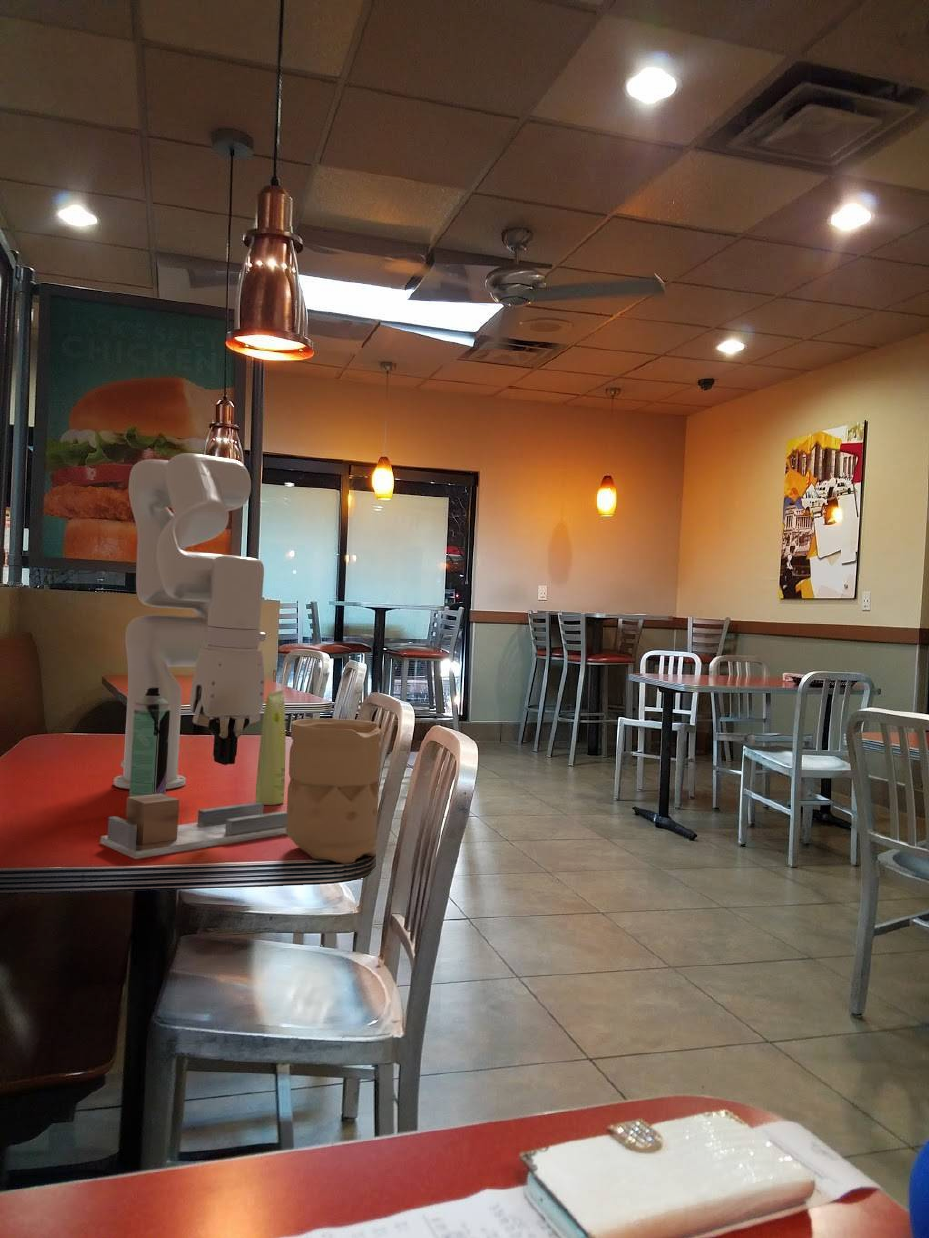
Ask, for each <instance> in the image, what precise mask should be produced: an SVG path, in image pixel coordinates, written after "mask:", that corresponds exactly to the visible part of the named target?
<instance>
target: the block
mask: <svg viewBox="0 0 929 1238" xmlns="http://www.w3.org/2000/svg"><path fill="white" fill-rule="evenodd" d="M179 809H180V799H179V798H176V797H173V796H171V795H167V794H165V795H164V794H161V793H160V794H151V795H143V796H134V797H129V796H128V797H126V812H125V813H126V814H125V820H127V821H129V822H132V823H134V824H137V833H136V842H138V843H140V844H142V845H144V844H150V843H157V842H163V841H170V840H176V839H177V830H178V825H179V812H180V811H179Z"/></svg>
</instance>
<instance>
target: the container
mask: <svg viewBox="0 0 929 1238" xmlns="http://www.w3.org/2000/svg"><path fill="white" fill-rule="evenodd" d="M382 736H383V735H382V729H381V728H380V725H379V723H378V722H376V721H375V722H374V721H370V720H359V719H347V718H331V717H329V718H326V717H325V718H303V719H302V718H301V719H296V720H293V721H291V722H290V738H291V739H292V740H291V741H292V742H291V745H290V747H289V759H288V760H289V763H288V775H289V778H290V780H289V783H288V786H287V797H286V798H287V801H286V811H287V819H286V833H287V834H286V835H287V836H288V838H290V840H291V841H292V842H293V843H294V844H295V845H296V846H297V847H298V848H300V849H301V850H302V851H304V852H305V853H306V854H308V856H310V857H311V858H312V859H314V860H327V861H332V862H334V863H339V864H343V865H349V864H351V863H352V864H353V863H355V861H357V859H359V858H361V857H362V856H369V857H375V854H376V851H377V842H376V839H375V838H376V836H377V831H378V830H377V829H378V828H377V827H378V815H379V814H378V811H379V809H378V808H379V791H380V790H379V789H380V775H381V773H380V772H381V758H382V757H381V753H382V748H381V745H380V743H381V742H382Z"/></svg>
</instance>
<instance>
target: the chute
mask: <svg viewBox="0 0 929 1238" xmlns="http://www.w3.org/2000/svg"><path fill="white" fill-rule="evenodd" d="M264 807H265V806H264V804H263V803H260V802H248V803H241V804H235V805H234V804H233V805H225V806H218V807H210V808H203V809H201V808H200V809H198V810H197V811H198V812H197V821H196V822H191V823H184V824H178V830H177V839H176V840H170V841H163V842H157V843H150V844H144V845H142V844H140V843H138V842H136V833H137V824H134V823H132V822H129V821H127V820H126V819H124V818H121V817H119V816H113V815H112V816H109V817H108V823H107V824H108V825H107V834H106V835H101V836H100V845H103V846H106V847H107V848H109V849H112V850H114V851H116V852H119V853H120V854H123V855H125V856H127V857H130V858H131V859H133V860H139V859H144V858H145V859H146V858H150V857H151V858H152V857H157V856H162V855H169V854H175V853H182V852H186V851H194V850H198V849H199V850H200V849H206V848H211V847H218V846H221V845H222V846H223V845H230V844H236V843H241V842H246V841H252V840H258V839H263V838H264V839H266V838H269V837H270V838H271V837H277V836H283V835H287V833H286V819H287V810H281V811H276V812H266V813H264Z"/></svg>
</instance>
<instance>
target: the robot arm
mask: <svg viewBox="0 0 929 1238" xmlns="http://www.w3.org/2000/svg"><path fill="white" fill-rule="evenodd" d="M251 490H252V480H251V476H250V473H249V471H248V469H247V467H246V466H245V465H244V464H243V463H242V462H241V461H238V460H236V459H234V458H233V459H232V458H227V457H220V456H215V455H207V454H202V453H192V452H186V453H185V452H184V453H179V454H176V455H174V456H173V457H171V458H169V460H168V459H167V460H166V459H158V458H157V459H154V458H153V459H152V458H151V459H144V460H140V461H138V462H136V463H135V464H134V465H133V466H132V468H131V471H130V473H129V480H128V497H129V502H130V507H131V511H132V514H133V518H134V522H135V526H136V530H137V531H136V532H137V542H136V543H137V545H136V547H137V548H136V549H137V550H136V571H135V573H136V575H135V589H136V590H135V591H136V596H137V598H138V600H139V602H141V604H143V605H145V606H148V607H154V608H162V609H165V608H166V609H180V610H193V611H194V613H195V616H188V615H187V616H185V615H173V614H172V615H171V614H170V615H168V614H145V615H144V614H143V615H140V616H137V617H135V618H133V619H131V621H129V623H128V625H127V626H126V629H125V637H124V638H125V639H124V640H125V648H126V649H125V651H126V658H127V698H126V699H127V700H126V717H125V719H126V722H125V736H124V737H125V738H124V753H123V754H124V757H123V760H121V762H120V766H121V767H122V768H123V771H122V772H123V774H120V775H117V776H116V777H114V779H113V785H114V787H116V788H120V789H125V790H130V778H131V760H132V742H133V724H134V707H135V706H136V704H135V702H137V701H139V700H140V699H142V698H144V695H146V693H147V690H148V689H149V688H152V687H158V688H159V693H160V695H162V697H161V698H163V699H165V700H166V701H167V702H169V703H170V705H169V707H170V721H169V739H168V757H167V775H166V790H170V789H177V788H180V787H182V786H185V784H186V780H187V778H186V777H185V776H184V775H180V774H178V771H179V770H178V769H179V754H180V753H179V752H180V751H179V749H180V731H181V715H182V712H181V711H182V687H181V685H180V683H179V682H178V680H177V678H175V676H174V675H173V674H172V672H171V670H170V669H169V668H170V667H171V668H173V667H188V668H190V667H194V672H193V677H192V682H191V688H190V690H191V691H190V697H189V698H190V699H189V709H190V711H191V712H192V713H194V714H193V717H192V723H193V724H194V725H197V726H201V727H202V726H203V727H206V728H207V729H208V730H209V731H210V734H211V735H212V736H214V739H213V749H212V750H213V751H212V753H213V754H212V756H213V761H214V762H215V763H217V764H220V765H224V766H227V765H234V764H235V763H236V757H237V755H238V754H237V753H238V738H240V737H241V736H242V733H243V731H244V730H245V729H246V728H247V727H248V726H249V725H251V724H255V723H258V722H259V721H260V720H261V712H262V710H263V709H264V708H263V707H264V700H265V699H264V698H265V667H264V665H265V664H264V659H263V658H264V657H263V651H262V650H261V649H260V647H259V646H260V642H264V641H265V640H266V633H265V632H261V621H262V620H261V618H262V617H261V616H262V605H263V592H264V591H263V589H264V578H265V566H264V564H263V562H262V561H261V560H260V559H257V558H254V557H249V556H241V555H232V554H231V555H229V554H220V553H213V552H211V553H210V552H204V551H203V552H201V551H189V550H188V551H187V550H186V548H189V547H193V546H197V545H199V544H202V543H206V542H208V541H212V540H213V539H215V538H217V537H218V536H220V535H221V534H222V533H224V531H225V530H226V528H227V527H228V524H229V520H230V519H229V518H230V515H229V512H230V511H235V510H238V509H240V508H241V507H244V505H246V503H247V502H248V500H249V498H250V495H251ZM169 508H170V509H172V511H171V510H170V509H169Z"/></svg>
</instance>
